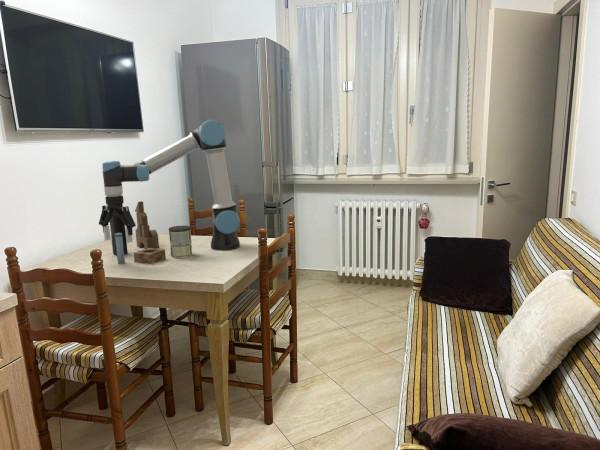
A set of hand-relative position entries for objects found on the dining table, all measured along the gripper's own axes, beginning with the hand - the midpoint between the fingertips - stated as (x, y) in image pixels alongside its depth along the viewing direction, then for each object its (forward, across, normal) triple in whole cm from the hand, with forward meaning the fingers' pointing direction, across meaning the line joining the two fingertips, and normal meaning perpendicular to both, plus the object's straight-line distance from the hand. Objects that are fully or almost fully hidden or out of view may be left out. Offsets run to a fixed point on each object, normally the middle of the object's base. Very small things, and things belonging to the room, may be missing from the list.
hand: (118, 241), depth 200 cm
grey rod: (+10, 0, 0) cm, 11 cm away
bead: (+10, -10, -8) cm, 17 cm away
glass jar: (+10, -19, -20) cm, 30 cm away
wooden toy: (+11, +11, -29) cm, 33 cm away
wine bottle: (+11, +14, -13) cm, 22 cm away
